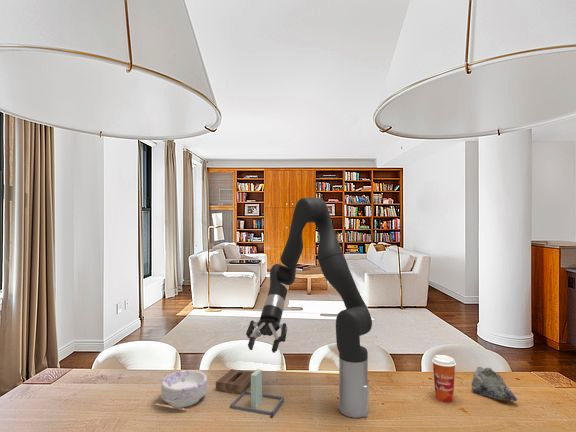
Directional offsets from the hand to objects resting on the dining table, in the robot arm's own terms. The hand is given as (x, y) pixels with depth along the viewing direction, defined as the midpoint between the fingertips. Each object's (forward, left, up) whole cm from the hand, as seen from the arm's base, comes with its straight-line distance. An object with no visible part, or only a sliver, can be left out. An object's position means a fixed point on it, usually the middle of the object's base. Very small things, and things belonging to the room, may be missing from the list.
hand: (261, 350), depth 126 cm
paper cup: (-60, -21, -17) cm, 66 cm away
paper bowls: (+25, +9, -18) cm, 32 cm away
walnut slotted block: (+13, -6, -17) cm, 22 cm away
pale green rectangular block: (0, +4, -17) cm, 17 cm away
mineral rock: (-76, -28, -18) cm, 83 cm away
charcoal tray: (0, +4, -17) cm, 18 cm away
